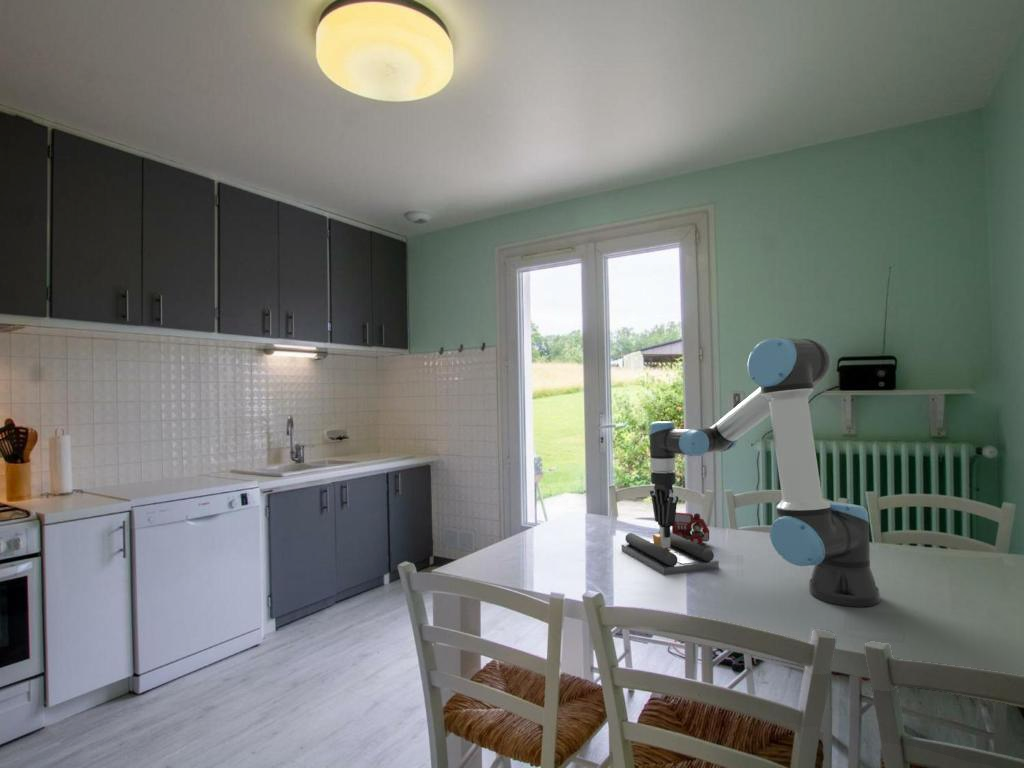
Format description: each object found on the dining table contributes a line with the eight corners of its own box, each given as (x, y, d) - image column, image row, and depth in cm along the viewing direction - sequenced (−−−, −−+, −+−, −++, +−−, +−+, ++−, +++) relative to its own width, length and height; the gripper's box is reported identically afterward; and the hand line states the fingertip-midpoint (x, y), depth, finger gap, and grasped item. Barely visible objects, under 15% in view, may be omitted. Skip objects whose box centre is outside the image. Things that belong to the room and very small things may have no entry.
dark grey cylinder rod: (680, 566, 158) (679, 554, 159) (669, 568, 158) (668, 555, 158) (633, 542, 185) (633, 531, 185) (623, 543, 184) (623, 532, 184)
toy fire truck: (708, 548, 183) (707, 516, 183) (669, 544, 188) (668, 513, 189) (710, 542, 189) (709, 512, 189) (673, 539, 195) (672, 509, 195)
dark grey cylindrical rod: (716, 562, 162) (716, 549, 162) (705, 563, 161) (705, 551, 161) (665, 538, 188) (665, 528, 188) (656, 539, 187) (655, 529, 187)
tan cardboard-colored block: (669, 548, 175) (669, 535, 175) (658, 549, 174) (658, 536, 174) (664, 545, 178) (664, 533, 178) (653, 547, 177) (653, 534, 177)
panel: (718, 567, 163) (718, 560, 163) (664, 575, 158) (663, 567, 158) (670, 544, 188) (669, 538, 188) (621, 550, 183) (621, 543, 183)
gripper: (685, 473, 169) (687, 551, 169) (662, 467, 181) (664, 540, 181) (663, 474, 167) (665, 553, 167) (641, 469, 179) (644, 542, 179)
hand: (665, 546), depth 174 cm, fingers closed
